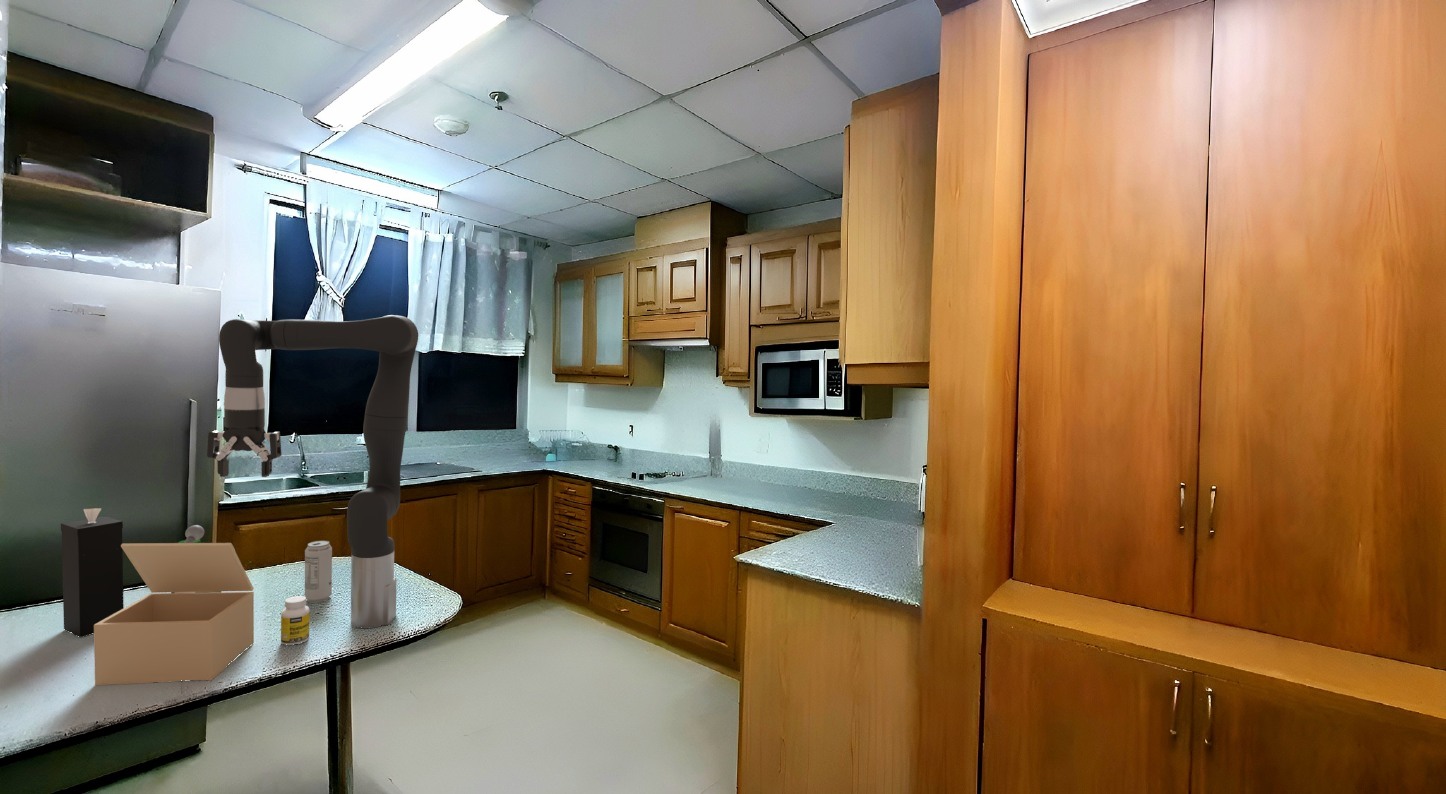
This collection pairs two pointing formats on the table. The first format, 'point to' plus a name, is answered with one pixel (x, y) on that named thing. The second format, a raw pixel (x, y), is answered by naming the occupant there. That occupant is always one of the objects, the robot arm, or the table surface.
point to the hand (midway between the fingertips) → (244, 476)
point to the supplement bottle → (295, 621)
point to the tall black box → (91, 571)
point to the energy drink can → (318, 571)
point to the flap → (188, 565)
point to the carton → (173, 637)
